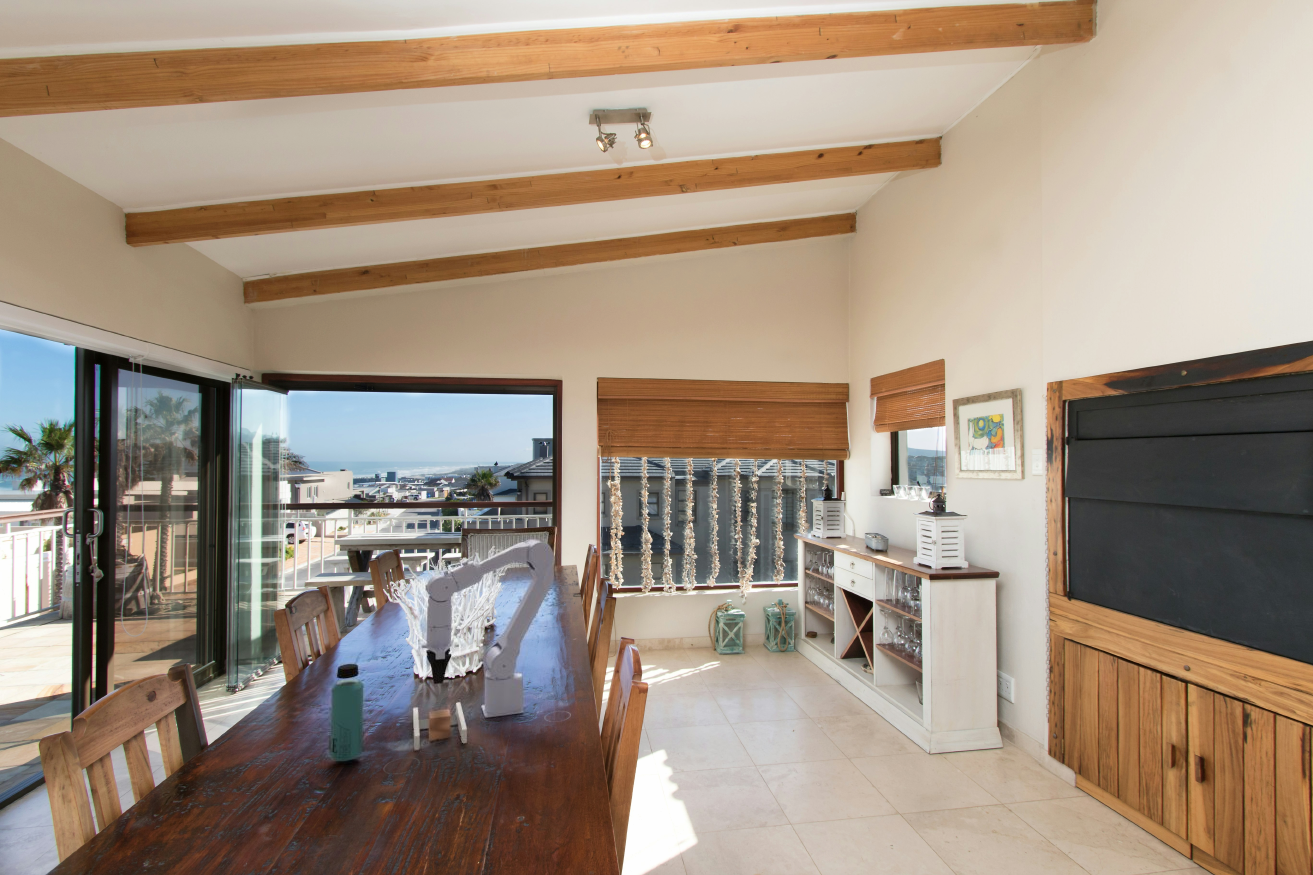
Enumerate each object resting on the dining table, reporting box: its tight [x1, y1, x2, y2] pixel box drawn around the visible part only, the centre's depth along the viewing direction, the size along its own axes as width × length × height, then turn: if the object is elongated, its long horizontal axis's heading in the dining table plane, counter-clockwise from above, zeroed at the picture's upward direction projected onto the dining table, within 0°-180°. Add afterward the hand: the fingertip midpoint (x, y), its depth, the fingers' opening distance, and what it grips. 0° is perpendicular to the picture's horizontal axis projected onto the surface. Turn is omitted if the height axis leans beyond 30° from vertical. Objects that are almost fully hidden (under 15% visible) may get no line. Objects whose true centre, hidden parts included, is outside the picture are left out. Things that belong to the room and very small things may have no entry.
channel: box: [412, 701, 468, 751], centre depth 153 cm, size 11×18×3 cm, turn 21°
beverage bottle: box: [328, 663, 365, 762], centre depth 137 cm, size 6×7×20 cm
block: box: [428, 708, 452, 741], centre depth 150 cm, size 4×4×5 cm
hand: (438, 681), depth 160 cm, fingers open, 3 cm apart
